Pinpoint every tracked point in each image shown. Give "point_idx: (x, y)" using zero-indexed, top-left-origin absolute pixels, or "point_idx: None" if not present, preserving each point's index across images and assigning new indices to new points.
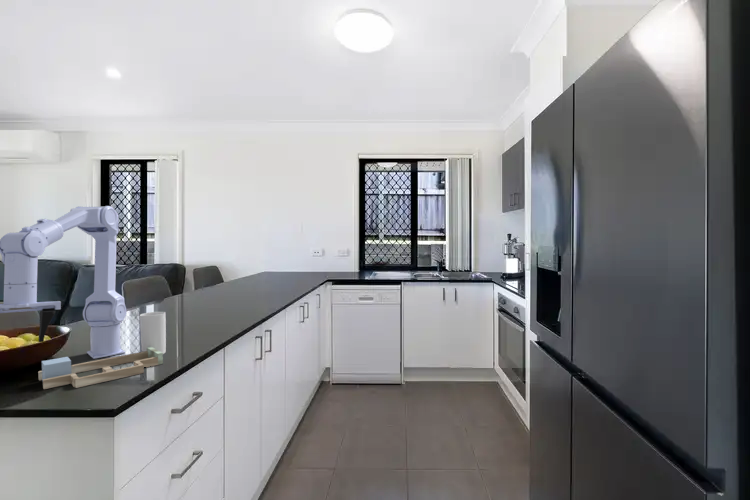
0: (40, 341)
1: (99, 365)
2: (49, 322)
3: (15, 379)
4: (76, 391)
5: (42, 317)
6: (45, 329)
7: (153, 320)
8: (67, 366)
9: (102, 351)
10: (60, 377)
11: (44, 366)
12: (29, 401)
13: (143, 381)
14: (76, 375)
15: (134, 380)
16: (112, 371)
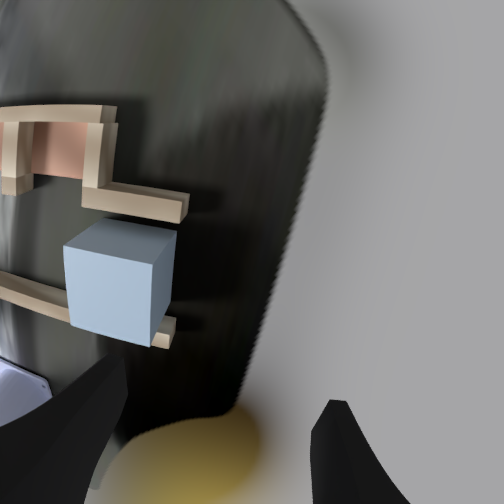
0: (118, 358)
1: (26, 284)
2: (9, 423)
3: (221, 385)
4: (129, 64)
5: (21, 478)
6: (56, 398)
7: None
8: (85, 238)
9: (24, 385)
10: (127, 192)
11: (153, 262)
12: (264, 87)
13: (5, 24)
14: (85, 161)
15: (7, 51)
16: (10, 109)
